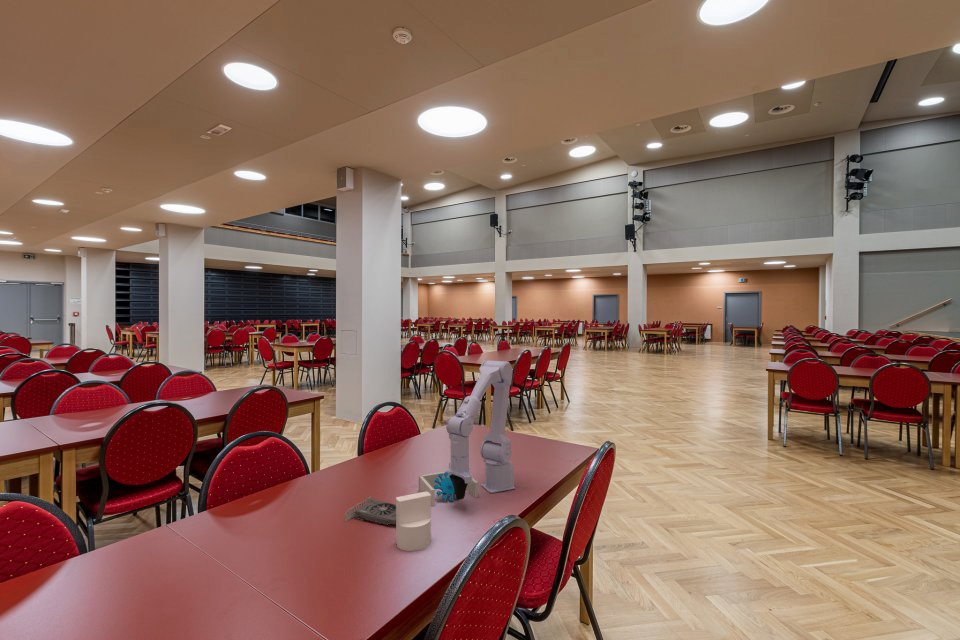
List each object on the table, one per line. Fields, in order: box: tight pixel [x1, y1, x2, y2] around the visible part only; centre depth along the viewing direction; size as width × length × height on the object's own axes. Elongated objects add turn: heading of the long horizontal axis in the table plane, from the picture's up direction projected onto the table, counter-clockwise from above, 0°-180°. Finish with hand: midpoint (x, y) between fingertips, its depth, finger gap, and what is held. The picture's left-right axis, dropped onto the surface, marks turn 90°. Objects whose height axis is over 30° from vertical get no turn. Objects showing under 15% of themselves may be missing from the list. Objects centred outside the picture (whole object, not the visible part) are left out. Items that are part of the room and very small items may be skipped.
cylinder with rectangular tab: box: [395, 491, 432, 552], centre depth 114 cm, size 9×9×12 cm
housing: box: [418, 470, 479, 507], centre depth 146 cm, size 16×14×5 cm
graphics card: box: [344, 496, 396, 526], centre depth 128 cm, size 17×4×12 cm
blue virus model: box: [434, 471, 458, 502], centre depth 144 cm, size 11×6×10 cm
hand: (460, 498), depth 136 cm, fingers closed
